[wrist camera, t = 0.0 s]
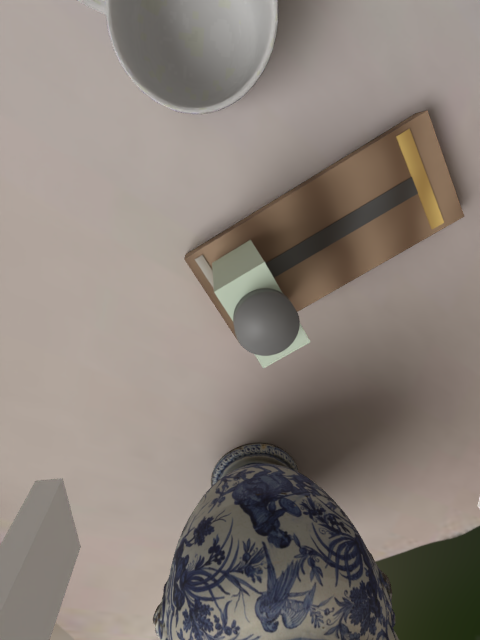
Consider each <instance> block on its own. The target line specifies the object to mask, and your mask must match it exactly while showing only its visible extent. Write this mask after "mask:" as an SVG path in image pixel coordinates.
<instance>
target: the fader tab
mask: <svg viewBox="0 0 480 640" xmlns="http://www.w3.org/2000/svg"><path fill="white" fill-rule="evenodd" d="M212 269H213V285H214V293H215V294H216V296H217V297H218V299H219V301H220V302H221V304H222V305H223V307H224V308H225V310H226V311H227V313H228V314H229V316H230V318H231V319H232V321H233V324H234V329H235V334H236V337H237V339H238V341H239V343H240V344H241V346H242V347H243V348H245V349H246V350H247V351H249V352H251V353H253V354H254V355H255V356H256V358H257V359H258V361H259V362H260V364H261V365H262V367H263V368H265V367H267V366H269V365H270V364H272V363H274V362H276V361H278V360H279V359H281V358H283V357H285V356H287V355H288V354H290V353H292V352H294V351H296V350H297V349H299V348H301V347H303V346H305V345H306V344H308V343H310V340H309V338H308V337H307V335H306V333H305V331H304V330H303V328H302V326H301V324H300V321H299V316H298V313H297V311H296V309H295V308H294V306H293V304H292V303H291V301H290V300H289V299H288V298H287V296H285V295H284V294H283V293H282V291H281V290H280V288H279V286H278V284H277V283H276V281H275V279H274V277H273V276H272V274H271V272H270V270H269V269H268V267H267V265H266V263H265V262H264V260H263V259H262V257H261V255H260V254H259V252H258V251H257V249H256V248H255V246H254V244H253V243H252V241H251V240H249V241H248V242H246V243H244V244H243V245H241V246H239V247H238V248H236V249H234V250H233V251H231V252H229V253H228V254H226V255H224V256H223V257H221V258H219V259H218V260H216V261H214V262H213V263H212Z"/></svg>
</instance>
